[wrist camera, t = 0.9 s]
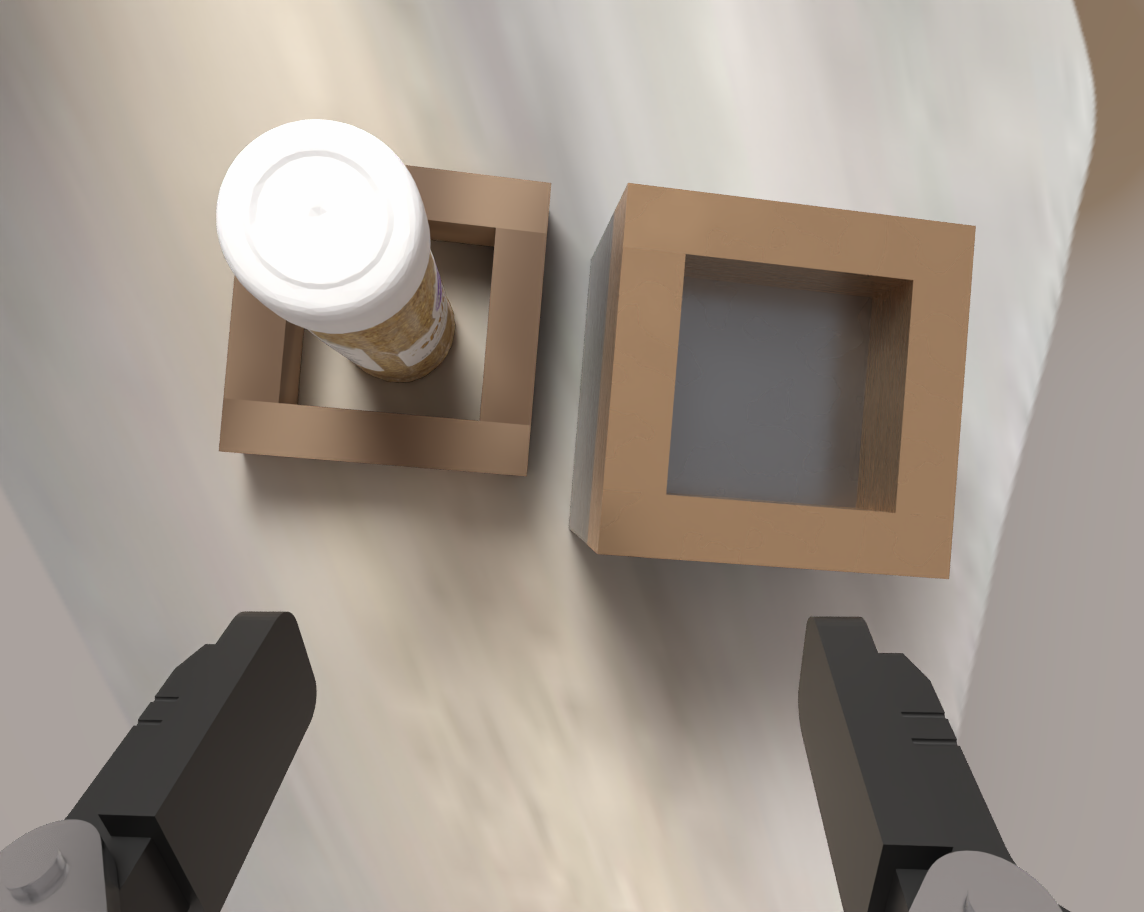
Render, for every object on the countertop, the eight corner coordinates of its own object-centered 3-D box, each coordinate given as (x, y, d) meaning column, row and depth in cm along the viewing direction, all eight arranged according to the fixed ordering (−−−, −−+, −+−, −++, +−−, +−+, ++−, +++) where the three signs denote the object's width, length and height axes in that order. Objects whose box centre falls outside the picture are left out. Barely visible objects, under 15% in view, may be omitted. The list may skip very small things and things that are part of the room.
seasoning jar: (472, 359, 30) (454, 278, 16) (364, 400, 29) (256, 350, 16) (430, 253, 30) (378, 83, 16) (321, 292, 29) (176, 150, 16)
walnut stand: (242, 452, 29) (218, 451, 26) (267, 172, 29) (246, 145, 27) (523, 474, 30) (526, 476, 28) (546, 205, 30) (551, 183, 28)
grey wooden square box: (568, 527, 30) (597, 554, 22) (590, 260, 30) (628, 182, 22) (826, 546, 31) (948, 579, 23) (846, 288, 32) (975, 225, 23)
